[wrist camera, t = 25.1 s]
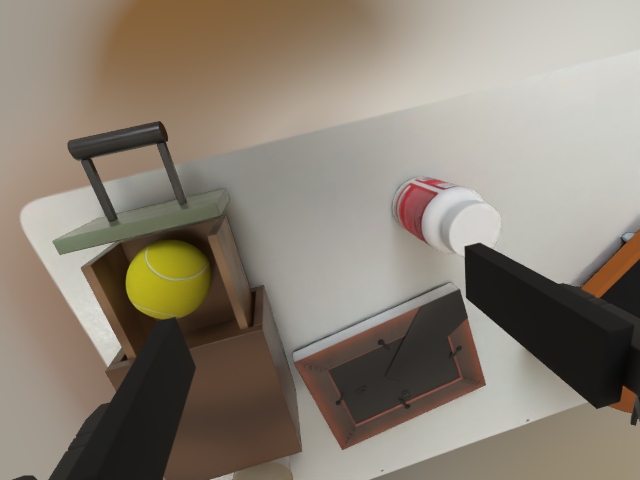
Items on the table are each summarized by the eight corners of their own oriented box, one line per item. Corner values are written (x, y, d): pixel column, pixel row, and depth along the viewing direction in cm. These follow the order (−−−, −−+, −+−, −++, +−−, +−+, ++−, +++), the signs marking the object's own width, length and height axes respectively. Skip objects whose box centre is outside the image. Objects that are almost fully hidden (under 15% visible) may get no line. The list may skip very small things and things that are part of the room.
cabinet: (142, 316, 36) (104, 371, 27) (263, 284, 37) (262, 329, 28) (191, 419, 41) (171, 491, 33) (295, 389, 42) (302, 451, 34)
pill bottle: (401, 238, 37) (452, 278, 27) (382, 191, 35) (430, 216, 25) (449, 213, 37) (518, 245, 27) (433, 166, 35) (501, 180, 25)
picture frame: (449, 280, 40) (292, 350, 40) (460, 289, 38) (293, 363, 38) (476, 373, 46) (338, 435, 46) (487, 386, 44) (342, 451, 44)
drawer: (63, 146, 28) (2, 150, 22) (203, 115, 29) (185, 111, 23) (154, 340, 36) (129, 386, 29) (265, 311, 37) (264, 349, 30)
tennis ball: (154, 220, 31) (123, 244, 24) (226, 244, 32) (216, 273, 26) (135, 282, 32) (101, 321, 26) (204, 303, 34) (189, 343, 27)
